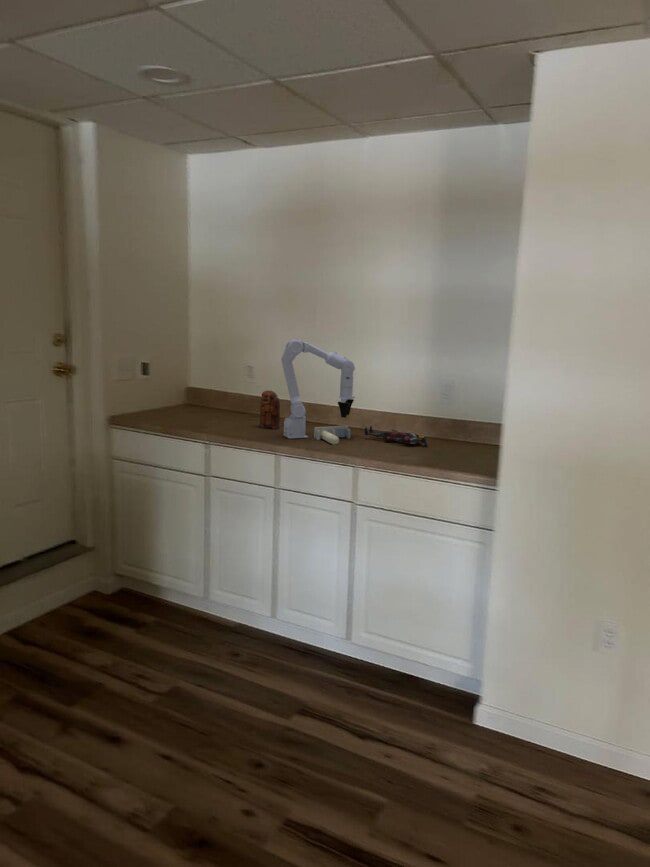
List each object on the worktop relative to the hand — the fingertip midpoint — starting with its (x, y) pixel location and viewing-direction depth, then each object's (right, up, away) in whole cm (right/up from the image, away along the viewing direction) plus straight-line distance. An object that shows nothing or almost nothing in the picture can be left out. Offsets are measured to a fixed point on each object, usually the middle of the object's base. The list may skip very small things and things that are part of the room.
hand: (345, 416), depth 300 cm
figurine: (+23, -12, -6) cm, 27 cm away
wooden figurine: (-37, -5, +19) cm, 41 cm away
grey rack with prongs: (-6, -10, -3) cm, 12 cm away
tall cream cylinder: (-7, -12, -9) cm, 16 cm away
